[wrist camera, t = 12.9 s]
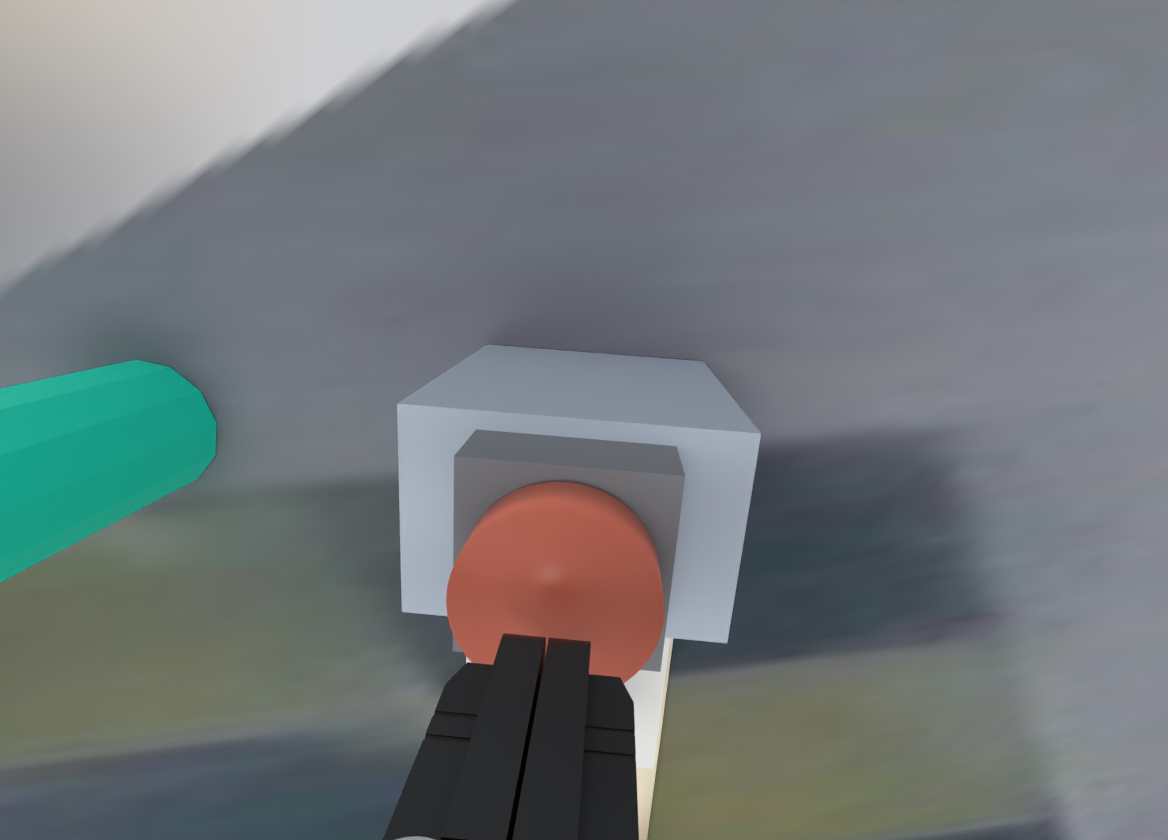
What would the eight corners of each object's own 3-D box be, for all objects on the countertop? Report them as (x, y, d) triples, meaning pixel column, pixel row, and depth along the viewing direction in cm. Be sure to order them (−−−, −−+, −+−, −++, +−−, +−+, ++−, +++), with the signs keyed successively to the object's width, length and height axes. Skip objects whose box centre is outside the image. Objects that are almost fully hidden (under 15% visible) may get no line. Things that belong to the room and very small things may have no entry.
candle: (153, 333, 25) (-257, 400, 13) (245, 446, 26) (-58, 599, 14) (61, 404, 26) (-390, 523, 14) (153, 509, 27) (-194, 696, 15)
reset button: (482, 598, 15) (446, 690, 12) (485, 443, 14) (445, 500, 11) (645, 613, 15) (653, 710, 12) (663, 459, 14) (676, 520, 11)
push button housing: (483, 478, 25) (371, 660, 14) (486, 344, 24) (362, 426, 12) (686, 495, 25) (742, 697, 14) (703, 361, 23) (784, 462, 12)
